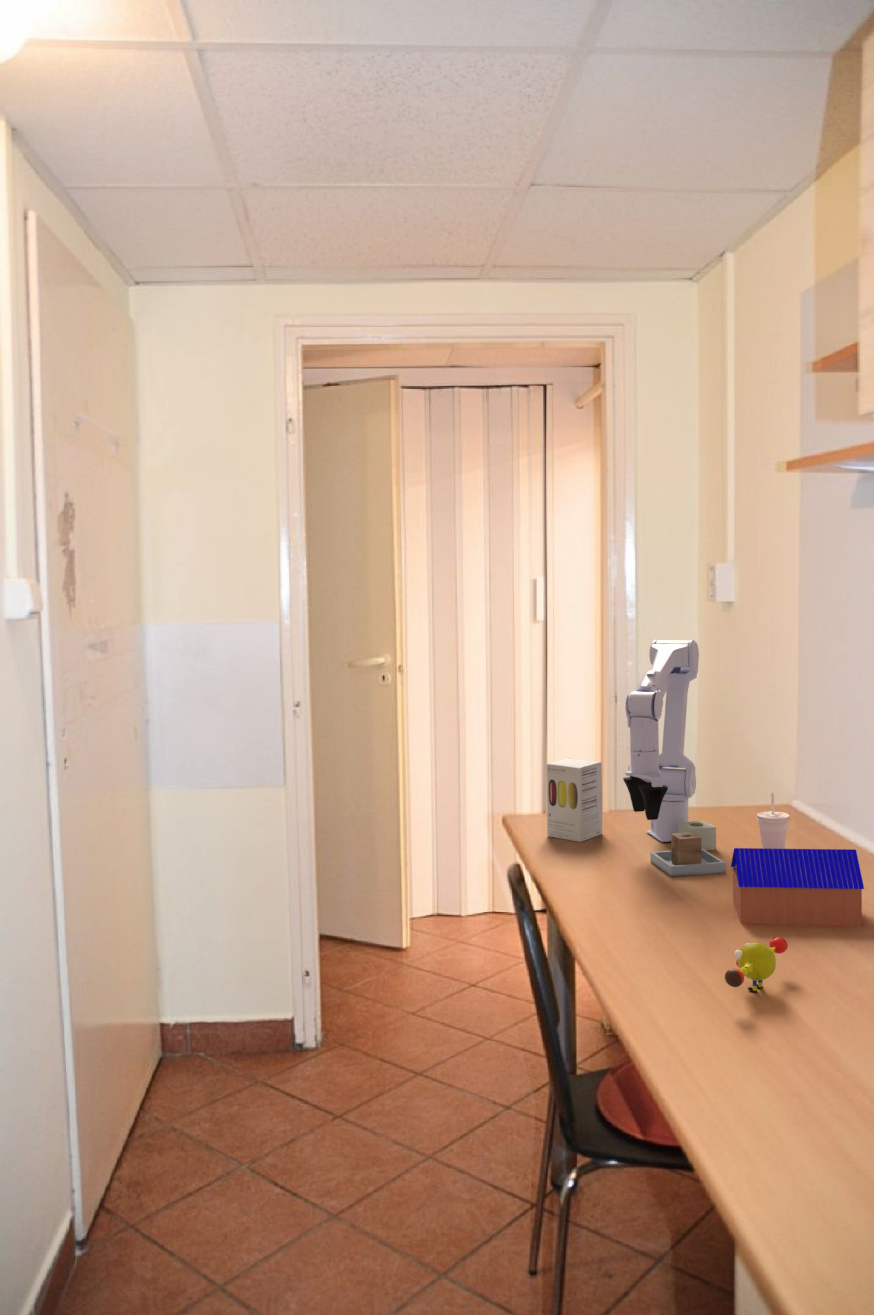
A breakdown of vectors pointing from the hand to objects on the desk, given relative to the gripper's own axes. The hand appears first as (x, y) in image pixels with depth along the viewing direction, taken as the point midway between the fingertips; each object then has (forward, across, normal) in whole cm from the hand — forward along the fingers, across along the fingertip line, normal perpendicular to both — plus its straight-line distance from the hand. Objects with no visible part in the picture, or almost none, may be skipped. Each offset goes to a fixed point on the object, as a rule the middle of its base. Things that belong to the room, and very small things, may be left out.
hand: (645, 815), depth 219 cm
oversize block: (+10, -7, +14) cm, 18 cm away
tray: (+9, +7, +6) cm, 13 cm away
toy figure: (+10, +68, -9) cm, 69 cm away
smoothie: (+10, +8, +24) cm, 27 cm away
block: (+9, +7, +6) cm, 13 cm away
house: (+10, +39, +12) cm, 42 cm away
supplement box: (+10, -24, -8) cm, 27 cm away
